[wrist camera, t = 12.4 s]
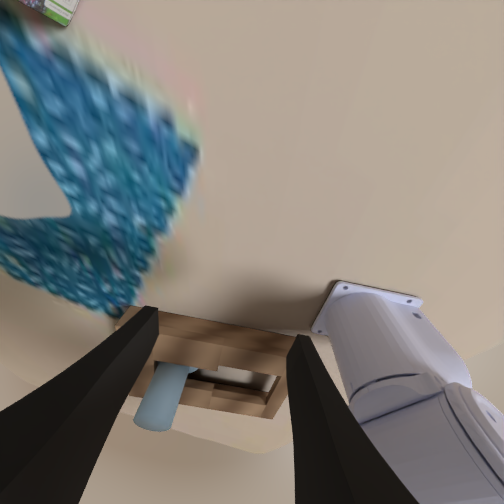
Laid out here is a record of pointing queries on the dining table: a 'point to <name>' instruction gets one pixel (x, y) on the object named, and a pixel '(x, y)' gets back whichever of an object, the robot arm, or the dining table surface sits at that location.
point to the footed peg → (162, 397)
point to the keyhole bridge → (217, 362)
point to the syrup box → (54, 9)
